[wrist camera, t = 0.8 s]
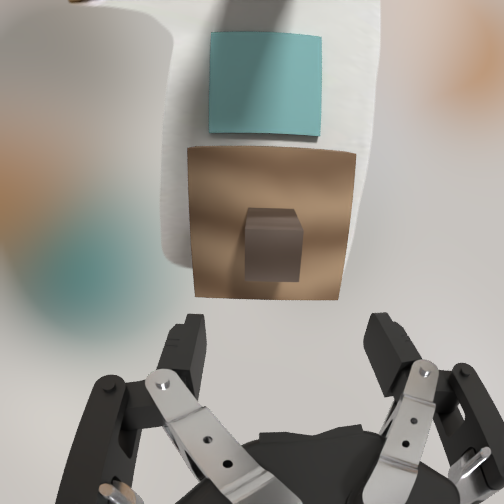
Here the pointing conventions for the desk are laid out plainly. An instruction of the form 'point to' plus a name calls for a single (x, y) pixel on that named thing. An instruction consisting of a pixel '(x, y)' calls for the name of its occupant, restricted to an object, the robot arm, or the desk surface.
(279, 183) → the walnut cover
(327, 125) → the desk surface
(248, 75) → the teal mat
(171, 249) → the desk surface
